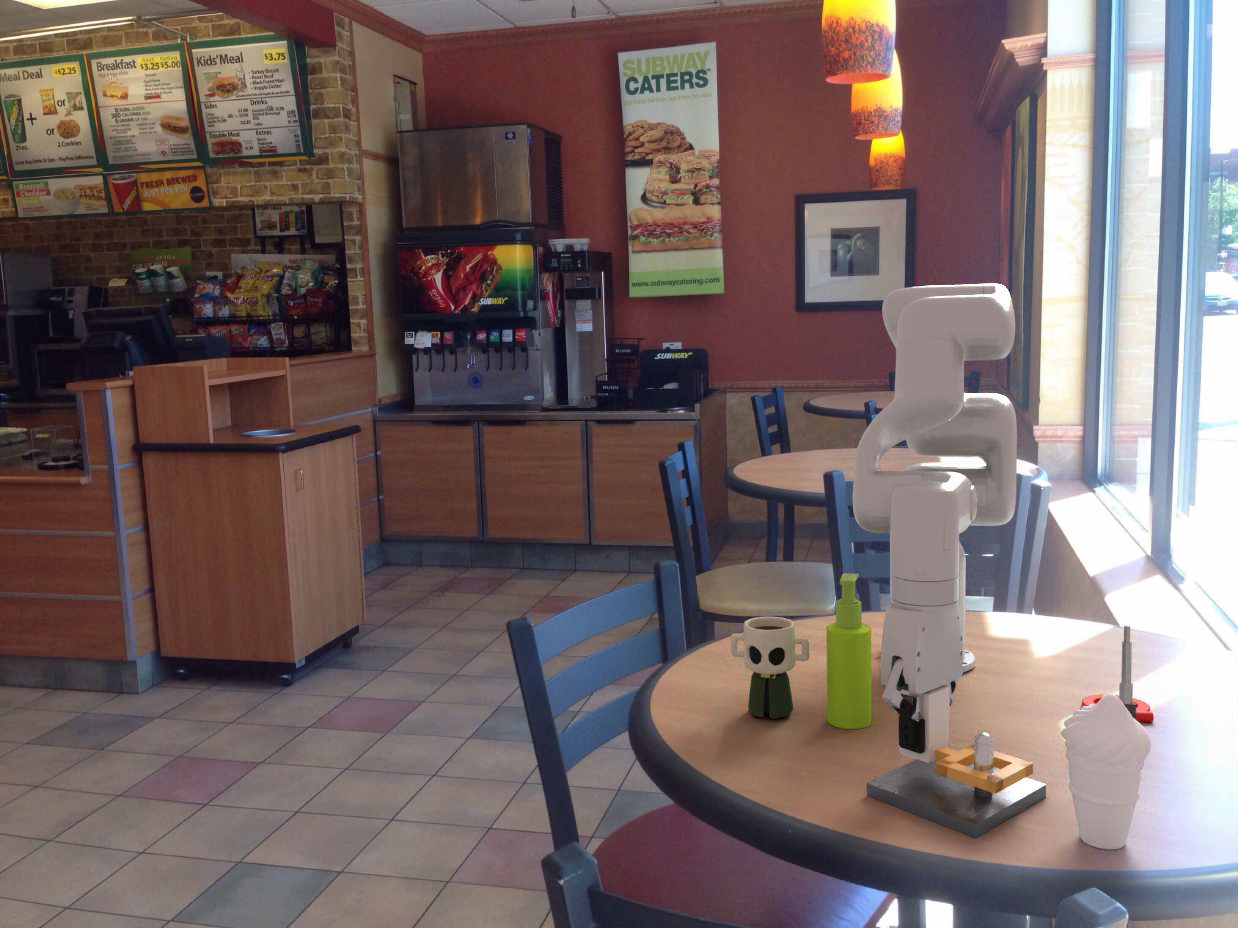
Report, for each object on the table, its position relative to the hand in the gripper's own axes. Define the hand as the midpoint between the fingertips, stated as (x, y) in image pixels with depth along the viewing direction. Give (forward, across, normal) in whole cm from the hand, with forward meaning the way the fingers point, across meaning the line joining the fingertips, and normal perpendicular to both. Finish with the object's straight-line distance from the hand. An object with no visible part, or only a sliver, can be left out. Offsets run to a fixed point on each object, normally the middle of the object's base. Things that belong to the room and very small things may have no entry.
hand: (924, 742), depth 123 cm
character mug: (+5, -4, -28) cm, 29 cm away
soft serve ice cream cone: (+5, -2, +20) cm, 21 cm away
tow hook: (+5, -38, +4) cm, 39 cm away
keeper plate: (+5, 0, +4) cm, 7 cm away
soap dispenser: (+5, -10, -19) cm, 22 cm away
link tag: (+1, 0, +5) cm, 5 cm away
